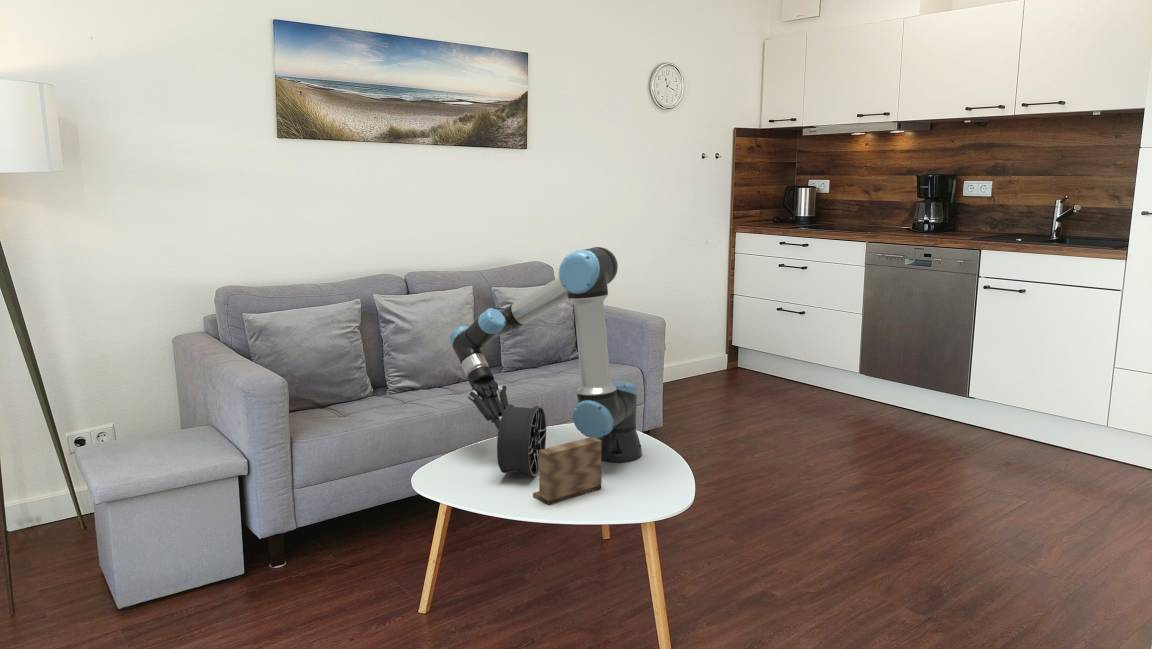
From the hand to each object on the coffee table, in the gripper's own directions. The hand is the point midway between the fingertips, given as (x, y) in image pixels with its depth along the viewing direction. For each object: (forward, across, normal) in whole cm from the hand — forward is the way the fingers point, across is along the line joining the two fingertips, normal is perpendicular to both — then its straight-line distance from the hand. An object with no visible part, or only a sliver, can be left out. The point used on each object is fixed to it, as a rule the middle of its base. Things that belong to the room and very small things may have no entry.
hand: (508, 437), depth 242 cm
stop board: (+26, -2, +13) cm, 29 cm away
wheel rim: (+11, 0, -2) cm, 11 cm away
